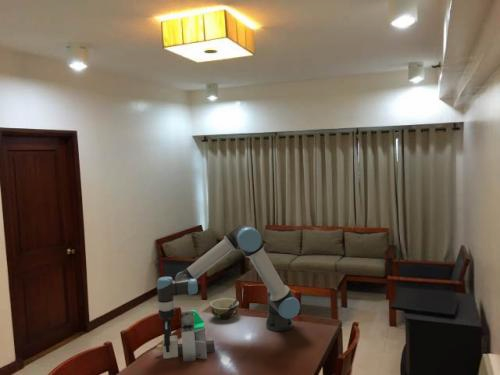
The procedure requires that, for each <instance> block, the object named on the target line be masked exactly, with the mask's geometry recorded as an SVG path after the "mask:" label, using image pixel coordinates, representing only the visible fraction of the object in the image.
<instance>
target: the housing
mask: <svg viewBox="0 0 500 375" xmlns="http://www.w3.org/2000/svg"><path fill="white" fill-rule="evenodd" d="M180 322H181V324H180V325H181V344H182V347H183V355H182V357H183V358H182V360H183V361H182V362H193V361H196V360H197V359H203V360H207V358H208V354H207V353H208V352H207V350H206V342H204V341H207V340H206V328H205V327H204V328H202V329H199V330H196V331H195V326H194V313H193V311H190V310H188V311H181V312H180Z"/></svg>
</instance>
